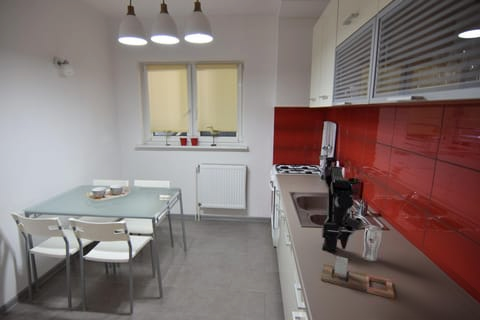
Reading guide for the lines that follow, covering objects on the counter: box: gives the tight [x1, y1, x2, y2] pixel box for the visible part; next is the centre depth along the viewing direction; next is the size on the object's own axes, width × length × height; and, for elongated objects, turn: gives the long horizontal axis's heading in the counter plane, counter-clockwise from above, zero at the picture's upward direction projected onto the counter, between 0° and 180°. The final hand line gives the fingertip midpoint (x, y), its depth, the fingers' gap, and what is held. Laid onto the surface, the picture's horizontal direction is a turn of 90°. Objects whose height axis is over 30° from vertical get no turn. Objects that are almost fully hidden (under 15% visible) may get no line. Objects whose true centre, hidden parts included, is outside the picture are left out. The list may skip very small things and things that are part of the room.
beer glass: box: [362, 224, 382, 263], centre depth 123 cm, size 7×7×15 cm
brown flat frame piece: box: [320, 263, 395, 300], centre depth 108 cm, size 10×26×1 cm, turn 67°
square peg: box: [333, 255, 349, 281], centre depth 109 cm, size 4×4×8 cm
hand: (339, 249), depth 106 cm, fingers open, 9 cm apart
